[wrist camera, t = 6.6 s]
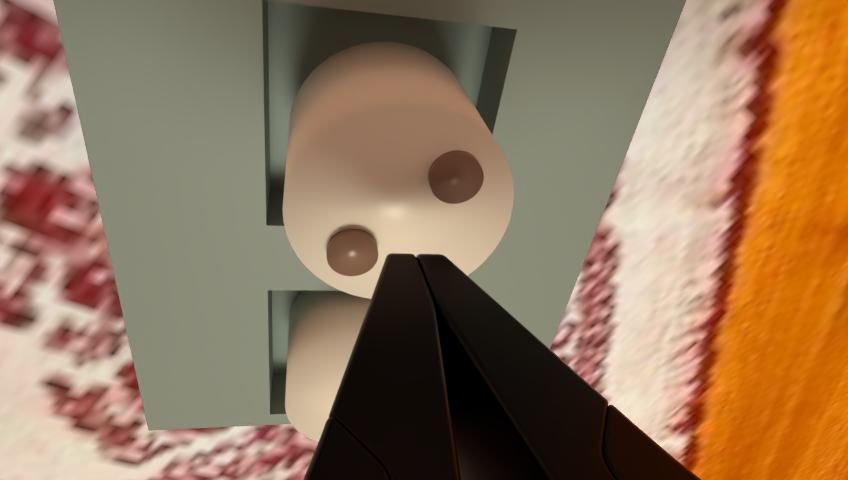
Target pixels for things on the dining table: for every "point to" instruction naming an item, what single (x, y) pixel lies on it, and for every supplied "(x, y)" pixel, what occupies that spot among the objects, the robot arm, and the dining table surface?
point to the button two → (390, 167)
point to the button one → (319, 354)
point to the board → (267, 152)
